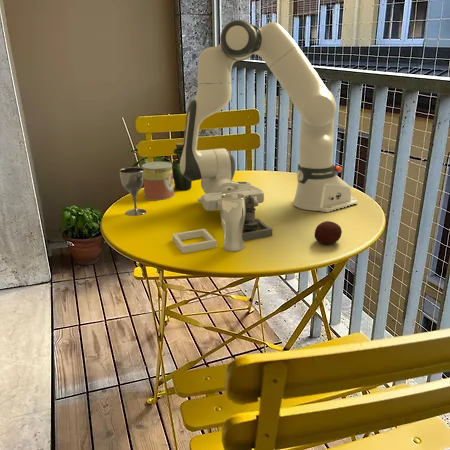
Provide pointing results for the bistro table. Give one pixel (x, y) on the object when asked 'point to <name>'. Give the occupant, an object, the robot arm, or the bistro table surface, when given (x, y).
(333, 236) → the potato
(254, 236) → the dark socket
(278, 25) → the robot arm
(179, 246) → the pale socket
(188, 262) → the bistro table surface
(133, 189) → the wine glass
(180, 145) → the potion bottle
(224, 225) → the beer glass
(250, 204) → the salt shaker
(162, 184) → the canned food
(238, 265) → the bistro table surface
